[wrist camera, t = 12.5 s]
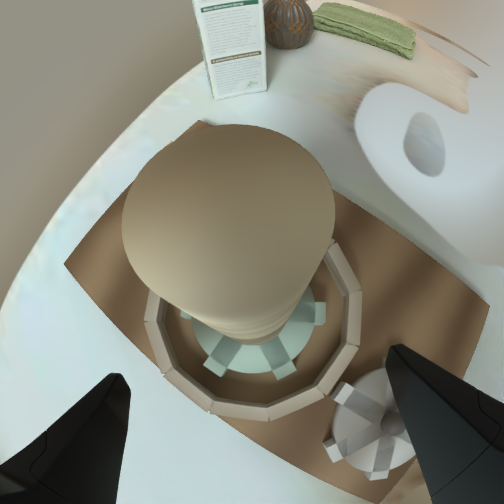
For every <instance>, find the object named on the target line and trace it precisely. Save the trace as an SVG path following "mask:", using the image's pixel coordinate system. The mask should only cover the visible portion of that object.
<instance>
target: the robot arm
mask: <svg viewBox="0 0 504 504" xmlns="http://www.w3.org/2000/svg"><path fill="white" fill-rule="evenodd" d="M385 368H386V372H387V375H388V378H389V381H390V385H391V388H392V392H393V395H394V399H395V402H396V405H397V408H398V410H399V413H400V415H401V417H402V420H403V422H404V425H405V427H406V430H407V432H408V435H409V438H410V440H411V443H412V445H413V448H414V451H415V453H416V456H417V459H418V462H419V464H420V467H421V470H422V473H423V476H424V479H425V482H426V485H427V488H428V490H429V494H430V496H431V500H432V503H433V504H504V403H502V402H500V401H498V400H496V399H494V398H492V397H490V396H489V395H487V394H485V393H483V392H482V391H480V390H477V388H475V387H473V386H472V385H470V384H468V383H467V382H465V381H463V380H462V379H460V378H458V377H457V376H455V375H454V374H452V373H450V372H449V371H447V370H445V369H444V368H442V367H440V366H439V365H437V364H435V363H434V362H432V361H430V360H429V359H427V358H425V357H424V356H422V355H420V354H419V353H417V352H415V351H414V350H412V349H410V348H409V347H407V346H405V345H404V344H402V343H398V344H395V345H391V346H390V347H389V350H388V354H387V358H386V362H385ZM130 399H131V390H130V388H129V386H128V384H127V383H126V381H125V379H124V377H123V376H122V375H121V374H120V373H110V374H108V375H107V376H106V377H105V378H104V379H103V380H102V381H100V382H99V383H98V384H97V385H96V386H95V387H94V388H93V389H91V390H90V391H89V392H88V393H87V394H86V395H85V396H84V397H82V398H81V399H80V400H79V401H78V402H77V403H76V404H75V405H73V406H72V407H71V408H70V409H69V410H68V411H67V412H66V413H64V414H63V415H62V416H61V417H60V418H59V419H58V420H57V421H55V422H54V423H53V424H52V425H51V426H50V427H49V428H48V429H47V431H44V432H43V433H42V434H41V435H40V436H39V437H37V438H36V439H35V440H34V441H33V442H32V443H30V444H29V445H28V446H26V447H25V448H24V449H22V450H21V451H20V452H18V453H17V454H16V455H14V456H13V457H11V458H10V459H9V460H7V461H6V462H4V463H3V464H1V465H0V504H116V499H117V491H118V484H119V477H120V471H121V465H122V459H123V453H124V447H125V442H126V437H127V431H128V420H129V409H130Z"/></svg>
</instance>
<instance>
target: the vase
mask: <svg viewBox="0 0 504 504" xmlns="http://www.w3.org/2000/svg"><path fill="white" fill-rule="evenodd" d="M263 9H264V24H265V39H266V40H267V41H268V42H269V43H270V44H272V45H273V46H275V47H277V48H281V49H296V48H299V47H301V46H302V45H304V44H305V43H306V42H307V41H308V40H309V39H310V37H311V35H312V32H313V28H314V18H313V14H312V11H311V9H310V7H309V6H308V5H307V3H306V2H305V1H304V0H269V1H268V2H267V3H266V4H265V5H264V7H263Z"/></svg>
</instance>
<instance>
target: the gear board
mask: <svg viewBox="0 0 504 504" xmlns="http://www.w3.org/2000/svg"><path fill="white" fill-rule="evenodd" d="M208 127H213V126H212V125H209V124H207V123H205V122H203V121H200V120H198V121H197V122H196V123H194V124H193V125H192V126H191V127H190V128H189V129H188V130H186V131H185V132H184V133H183V134H182V135H181V136H180V137H179V138H181V137H183V136H185V135H187V134H190V133H192V132H195V131H198V130H201V129H205V128H208ZM179 138H177V139H179ZM177 139H176V140H177ZM170 143H172V141H171V142H170ZM170 143H169V144H170ZM169 144H168V145H169ZM133 182H134V181H133ZM133 182H132V183H131V184H130V185H129V186H128V187H127V188H126V189H125V190H124V192H123V193H122V194H121V195H120V196H119V197H118V198H117V199H116V200H115V201H114V203H113V204H112V205H111V206H110V207H109V208H108V209H107V210H106V212H105V213H104V214H103V215H102V216H101V217H100V219H99V220H98V221H97V222H96V223H95V224H94V226H93V227H92V228H91V229H90V231H89V232H88V233H87V234H86V235H85V237H84V238H83V239H82V240H81V242H80V243H79V244H78V246H77V247H76V248H75V249H74V251H73V252H72V253H71V255H70V256H69V257H68V259H67V260H66V261H65V263H64V265H65V267H66V268H67V269H68V271H69V272H70V273H71V274H72V276H73V277H74V278H75V279H76V281H77V282H78V283H79V284H80V286H81V287H82V288H83V289H84V290H85V292H86V293H87V294H88V295H89V296H90V298H91V299H92V300H93V301H94V302H95V303H96V305H97V306H98V307H99V308H100V309H101V310H102V311H103V312H104V314H105V315H106V316H107V317H108V318H109V319H110V320H111V321H112V322H113V323H114V324H115V325H116V326H117V328H118V329H119V330H120V331H121V332H122V333H123V334H124V335H125V336H126V337H127V338H128V339H129V340H130V341H131V342H132V343H133V344H134V345H135V346H136V347H137V348H138V349H139V350H140V351H141V352H142V353H143V354H144V355H145V356H147V357H148V358H149V359H150V360H151V361H152V362H153V363H154V364H155V365H156V366H157V367H158V368H159V369H160V371H161V374H165V375H164V376H163V377H164V378H166V379H167V380H168V381H169V382H170V383H171V384H173V385H174V386H175V387H176V388H177V389H178V390H180V391H181V392H182V393H183V394H184V395H186V396H187V397H188V398H189V399H190V400H192V401H193V402H194V403H195V404H197V405H198V406H199V407H201V408H202V409H203V410H204V411H206V412H208V411H209V410H210V414H215V415H217V416H218V417H219V418H221V419H222V420H224V421H225V422H226V423H228V424H229V425H230V426H232V427H233V428H235V429H236V430H238V431H239V432H241V433H242V434H244V435H245V436H246V437H248V438H249V439H251V440H253V441H254V442H256V443H257V444H259V445H260V446H262V447H263V448H265V449H267V450H268V451H270V452H272V453H273V454H275V455H277V456H278V457H280V458H282V459H283V460H285V461H287V462H289V463H290V464H292V465H294V466H296V467H297V468H299V469H301V470H303V471H305V472H307V473H309V474H311V475H313V476H314V477H316V478H318V479H320V480H322V481H324V482H327V483H329V484H331V485H333V486H335V487H337V488H339V489H342V490H344V491H346V492H348V493H351V494H353V495H355V496H358V497H360V498H363V499H365V500H368V501H370V502H373V503H376V504H379V503H380V502H381V501H382V500H383V499H384V498H385V496H386V495H387V494H388V493H389V492H390V491H391V490H392V488H393V487H394V486H395V485H396V484H397V482H398V481H399V480H400V479H401V477H402V476H403V475H404V474H405V472H406V471H407V470H408V468H409V467H410V466H411V464H412V463H413V462H414V460H415V459H416V457H417V456H416V453H415V451H414V448H413V445H412V443H411V440H410V438H409V435H408V432H407V430H406V427H405V425H404V422H403V420H402V417H401V415H400V413H399V410H398V408H397V405H396V402H395V399H394V395H393V392H392V388H391V385H390V381H389V378H388V375H387V372H386V368H385V362H386V358H387V354H388V350H389V347H390V346H391V345H395V344H398V343H402V344H404V345H405V346H407V347H409V348H410V349H412V350H414V351H415V352H417V353H419V354H420V355H422V356H424V357H425V358H427V359H429V360H430V361H432V362H434V363H435V364H437V365H439V366H440V367H442V368H444V369H445V370H447V371H449V372H450V373H452V374H454V375H455V376H457V377H458V378H460V379H463V376H464V374H465V372H466V370H467V368H468V365H469V363H470V361H471V358H472V356H473V353H474V351H475V348H476V346H477V343H478V340H479V338H480V335H481V332H482V329H483V326H484V323H485V320H486V317H487V314H488V311H489V308H490V306H489V305H488V304H487V303H486V302H485V301H484V300H483V299H482V298H480V297H479V296H478V295H477V294H476V293H475V292H474V291H472V290H471V289H470V288H469V287H468V286H467V285H465V284H464V283H463V282H462V281H461V280H459V279H458V278H457V277H456V276H455V275H453V274H452V273H451V272H450V271H448V270H447V269H446V268H445V267H443V266H442V265H441V264H440V263H438V262H437V261H436V260H434V259H433V258H432V257H430V256H429V255H428V254H427V253H425V252H424V251H423V250H421V249H420V248H419V247H417V246H416V245H414V244H413V243H412V242H410V241H409V240H408V239H406V238H405V237H403V236H402V235H401V234H399V233H398V232H396V231H395V230H394V229H392V228H391V227H389V226H388V225H386V224H385V223H383V222H382V221H380V220H379V219H378V218H376V217H375V216H373V215H372V214H370V213H369V212H367V211H365V210H364V209H362V208H361V207H359V206H358V205H356V204H355V203H353V202H352V201H350V200H348V199H347V198H345V197H344V196H342V195H340V194H339V193H337V192H335V191H334V190H332V192H333V196H334V202H335V223H334V230H333V234H332V237H331V241H330V244H329V246H328V248H327V250H326V252H325V255H324V257H323V259H322V260H321V262H320V264H319V266H318V268H317V270H316V272H315V273H314V275H313V277H312V279H311V281H310V282H309V286H310V288H311V290H312V293H313V296H314V301H315V302H326V323H325V324H323V325H314V328H313V331H312V334H311V336H310V338H309V340H308V342H307V344H306V345H305V347H304V348H303V349H302V351H301V352H300V353H299V354H298V355H297V356H296V357H295V358H294V359H292V362H293V364H294V366H295V368H296V371H295V372H293V373H291V374H289V375H287V376H285V377H283V378H281V379H279V380H277V378H276V376H275V375H274V373H273V371H272V370H271V371H268V372H263V373H243V372H238V371H234V370H231V369H228V370H227V372H226V373H225V374H224V376H222V377H220V376H218V375H217V374H215V373H214V372H212V371H211V370H209V369H208V368H207V367H205V366H204V365H203V364H204V363H205V361H206V360H207V359H208V357H209V355H208V354H207V353H206V352H205V351H204V349H203V348H202V347H201V345H200V344H199V342H198V340H197V338H196V336H195V333H194V330H193V326H192V321H191V319H185V318H183V317H181V309H179V308H177V307H176V306H174V305H173V304H171V303H169V302H168V301H166V300H165V299H163V298H162V297H160V296H159V295H157V294H155V293H154V292H153V291H152V290H151V289H150V288H149V287H148V286H146V285H145V284H144V283H143V281H142V280H141V279H140V278H139V276H138V275H137V274H136V272H135V271H134V269H133V267H132V265H131V264H130V262H129V259H128V257H127V254H126V252H125V248H124V244H123V239H122V214H123V209H124V204H125V201H126V198H127V195H128V192H129V190H130V188H131V186H132V184H133Z"/></svg>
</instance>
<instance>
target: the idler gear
mask: <svg viewBox="0 0 504 504" xmlns="http://www.w3.org/2000/svg"><path fill="white" fill-rule="evenodd" d="M334 223H335V202H334V196H333V192H332V189H331V186H330V183H329V180H328V178H327V176H326V174H325V172H324V170H323V169H322V167H321V166H320V165H319V163H318V162H317V160H316V159H315V158H314V157H313V156H312V155H311V154H310V153H309V152H308V151H307V150H306V149H305V148H303V147H302V146H301V145H300V144H298V143H297V142H295V141H294V140H292V139H290V138H289V137H287V136H284V135H282V134H280V133H278V132H275V131H272V130H270V129H266V128H262V127H258V126H251V125H238V124H231V125H219V126H213V127H208V128H205V129H201V130H198V131H195V132H192V133H190V134H187V135H185V136H183V137H181V138H179V139H177V140H175V141H174V142H172V143H170V144H169V145H167V146H166V147H164V148H163V149H162V150H161V151H159V152H158V153H157V154H156V155H155V156H154V157H153V158H152V159H150V160H149V161H148V163H147V164H146V165H145V166H144V167H143V169H142V170H141V171H140V172H139V174H138V176H137V177H136V179H135V180H134V182H133V184H132V186H131V188H130V190H129V192H128V195H127V198H126V201H125V204H124V209H123V214H122V239H123V244H124V248H125V252H126V254H127V257H128V259H129V262H130V264H131V265H132V267H133V269H134V271H135V272H136V274H137V275H138V276H139V278H140V279H141V280H142V281H143V283H144V284H145V285H146V286H148V287H149V288H150V289H151V290H152V291H153V292H154V293H155V294H157V295H159V296H160V297H162V298H163V299H165V300H166V301H168V302H169V303H171V304H173V305H174V306H176V307H177V308H179V309H181V317H183V318H185V319H191V321H192V326H193V330H194V333H195V336H196V338H197V340H198V342H199V344H200V345H201V347H202V348H203V349H204V351H205V352H206V353H207V354H208V355H209V357H208V359H207V360H206V361H205V363H204V364H203V365H204V366H205V367H207V368H208V369H209V370H211V371H212V372H214V373H215V374H217V375H218V376H220V377H222V376H224V374H225V373H226V372H227V370H228V369H231V370H234V371H238V372H243V373H263V372H268V371H271V370H272V371H273V373H274V375H275V376H276V378H277V380H279V379H281V378H283V377H285V376H287V375H289V374H291V373H293V372H295V371H296V368H295V366H294V364H293V362H292V359H294V358H295V357H296V356H297V355H298V354H299V353H300V352H301V351H302V349H303V348H304V347H305V345H306V344H307V342H308V340H309V338H310V336H311V334H312V331H313V328H314V325H323V324H325V323H326V302H315V301H314V296H313V293H312V290H311V288H310V286H309V282H310V281H311V279H312V277H313V275H314V273H315V272H316V270H317V268H318V266H319V264H320V262H321V260H322V259H323V257H324V255H325V252H326V250H327V248H328V246H329V244H330V241H331V237H332V234H333V230H334Z"/></svg>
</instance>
